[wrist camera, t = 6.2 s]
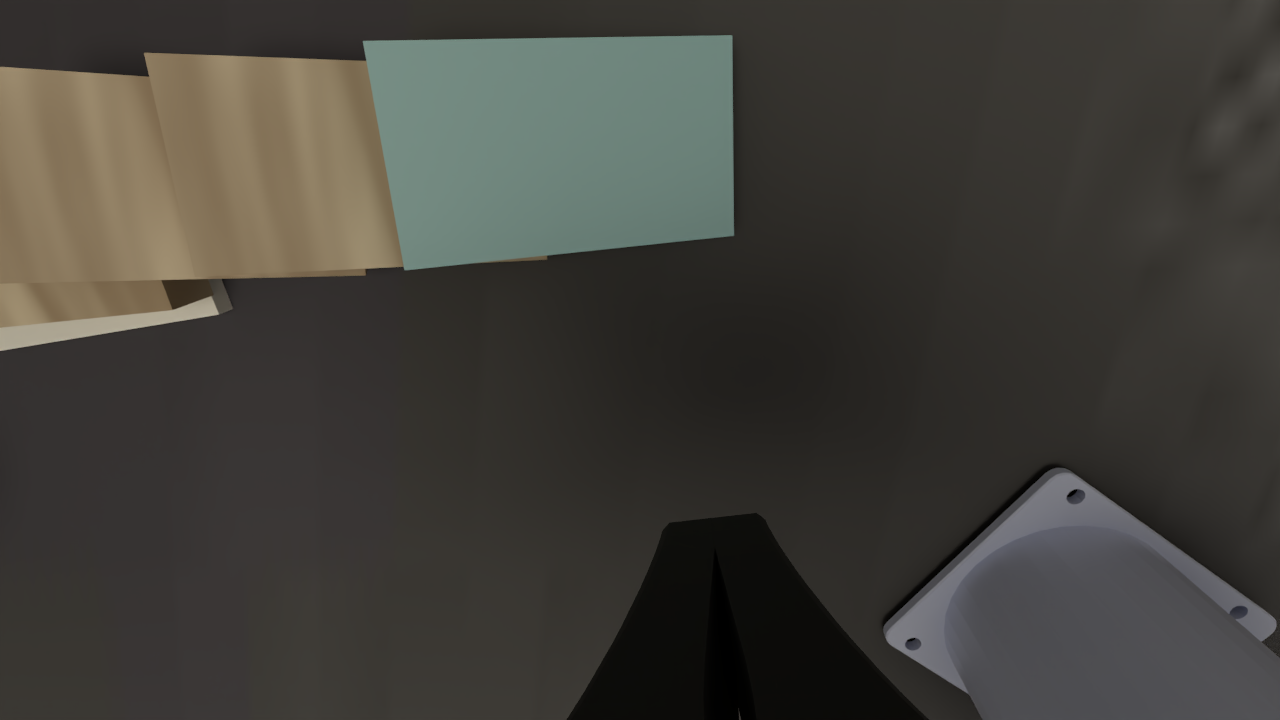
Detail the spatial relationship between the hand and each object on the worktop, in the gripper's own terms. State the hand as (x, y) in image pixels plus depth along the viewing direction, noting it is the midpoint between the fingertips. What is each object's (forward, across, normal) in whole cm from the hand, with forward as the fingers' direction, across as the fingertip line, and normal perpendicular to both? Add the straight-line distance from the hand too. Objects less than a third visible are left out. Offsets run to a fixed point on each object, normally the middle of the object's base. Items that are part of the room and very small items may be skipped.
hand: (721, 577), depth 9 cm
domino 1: (+10, -1, -6) cm, 11 cm away
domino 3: (+10, +8, -6) cm, 14 cm away
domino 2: (+10, +3, -6) cm, 12 cm away
